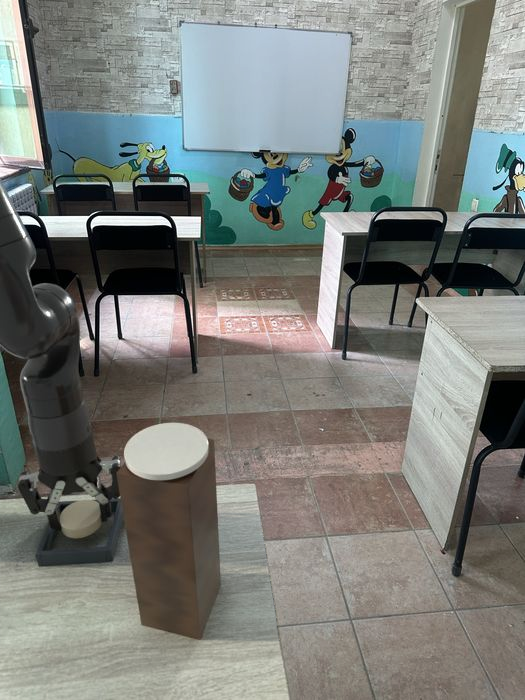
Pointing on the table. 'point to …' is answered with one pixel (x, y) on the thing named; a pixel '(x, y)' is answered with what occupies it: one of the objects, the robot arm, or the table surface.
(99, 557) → the bin
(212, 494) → the riser box
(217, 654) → the table surface
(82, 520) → the top plate
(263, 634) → the table surface
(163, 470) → the bottom plate
